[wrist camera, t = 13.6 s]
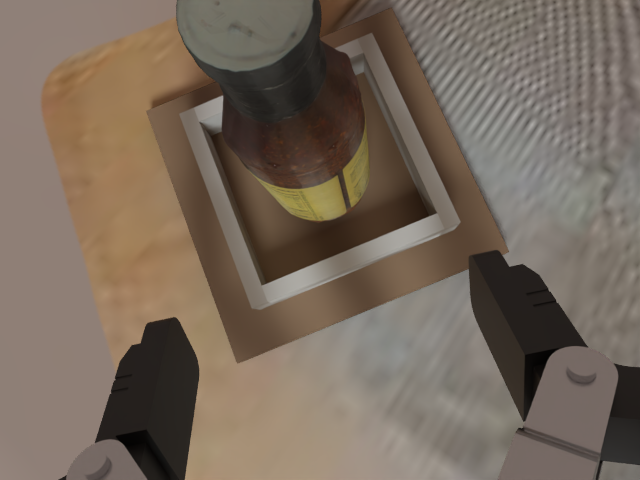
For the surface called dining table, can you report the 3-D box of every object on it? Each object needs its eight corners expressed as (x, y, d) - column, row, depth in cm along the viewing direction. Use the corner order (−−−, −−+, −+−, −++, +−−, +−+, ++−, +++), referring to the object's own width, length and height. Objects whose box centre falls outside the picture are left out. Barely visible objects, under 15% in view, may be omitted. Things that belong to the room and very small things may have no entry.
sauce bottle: (332, 114, 35) (289, -156, 15) (389, 189, 34) (422, 1, 14) (250, 172, 35) (100, -25, 15) (305, 249, 33) (220, 144, 14)
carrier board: (390, 16, 37) (393, -17, 33) (504, 253, 33) (520, 245, 30) (152, 116, 37) (130, 95, 34) (240, 362, 34) (226, 366, 30)
